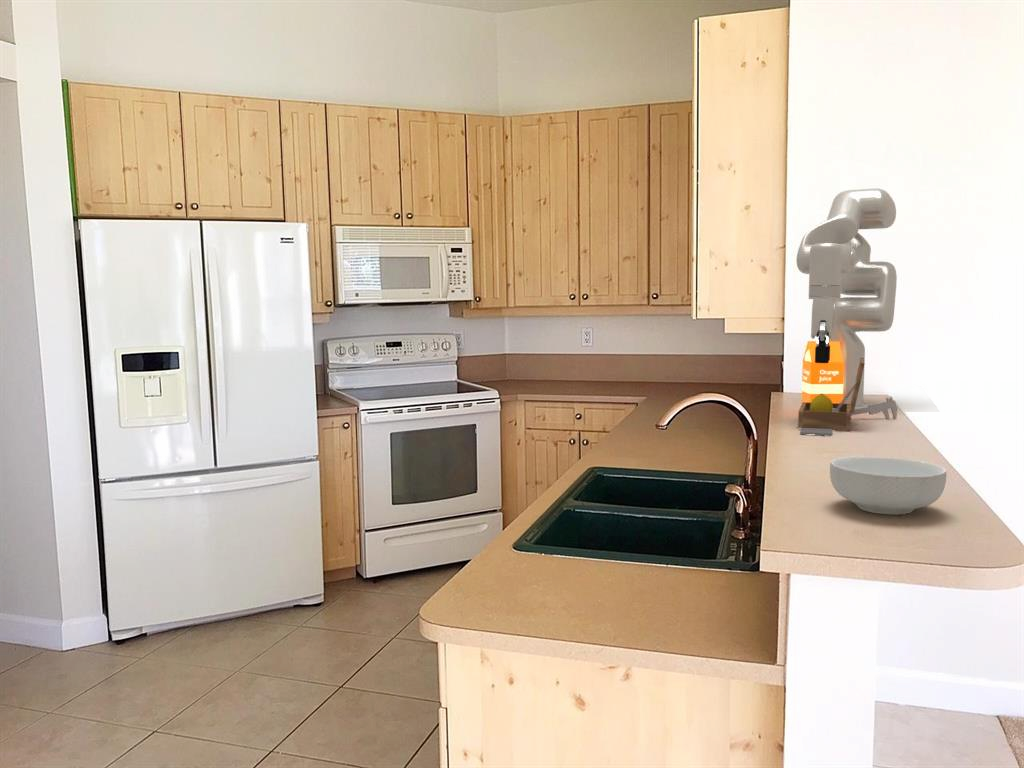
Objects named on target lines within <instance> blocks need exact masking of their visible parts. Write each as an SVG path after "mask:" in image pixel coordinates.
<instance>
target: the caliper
mask: <svg viewBox="0 0 1024 768" xmlns="http://www.w3.org/2000/svg"><path fill="white" fill-rule="evenodd" d="M885 400H886V401H880V402H875V403H870V404H867V405H868V406H867V407H861V408H856V409H854V412H853V413H851V416H854V415H855V416H856V415H860V414H867V413H868V415H874V414H876V415H877V414H880V413H881V412H882V414H883V416H884V418H885V419H886V420H890V413H889V410H888V409H890V410H891V414H892V418H893V420H896V419H897V418H898V406H897V402H896V400H894V399H893V396H891V395H890V396H889V398H888V397H885Z"/></svg>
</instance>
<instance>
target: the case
mask: <svg viewBox="0 0 1024 768" xmlns="http://www.w3.org/2000/svg"><path fill="white" fill-rule="evenodd" d="M865 364H866V363H865V362H864V358H860V363H859V367H858V372H857V376H856V381H855V382H854V383H853V385H852V386H851V388H850V389H849V391H848V392H847V394H846V395H845V397H844V398H843V399H842V401H841V402H840V403H832V404H833V408H832V412H828V411H810V404H811V402H802V401H801V404H800V407H799V409H798V422H797V423H798V424H797V425H798V426H797V429H798V428H819V429H832V430H835V431H834V432H851V429H852V424H851V423H852V415H851V413H853V412H854V409H855V405H856V400H857V396H858V391H859V387H860V382H861V378H862V373H863V369H864V370H865ZM853 389H854V390H853ZM852 390H853V394H852V399H851V402H850V404H844V402H845V400H846V399H847V398H848V396H849V395H850V393H851V392H852Z"/></svg>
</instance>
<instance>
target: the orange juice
mask: <svg viewBox="0 0 1024 768" xmlns="http://www.w3.org/2000/svg"><path fill="white" fill-rule="evenodd" d="M816 341H817V340H812V341H811V340H810V341H809V340H808V341H807V342H806V346H805V351H804V353H803V354H804V355H803V358H802V359H803V360H802V376H801V377H802V379H801V380H802V381H801V403H802V402H811V401H812V400H813V398H814V397H816V396H817V395H820V394H821V393H822V394H824V395H826V396H827V397H829V398H830V399H831V401H832V403H840V402H841V401H842V399H843V370H844V362H843V357H842V353H841V348H840V343H839V341H829V345H830V360H829V363H815V347H816Z"/></svg>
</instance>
